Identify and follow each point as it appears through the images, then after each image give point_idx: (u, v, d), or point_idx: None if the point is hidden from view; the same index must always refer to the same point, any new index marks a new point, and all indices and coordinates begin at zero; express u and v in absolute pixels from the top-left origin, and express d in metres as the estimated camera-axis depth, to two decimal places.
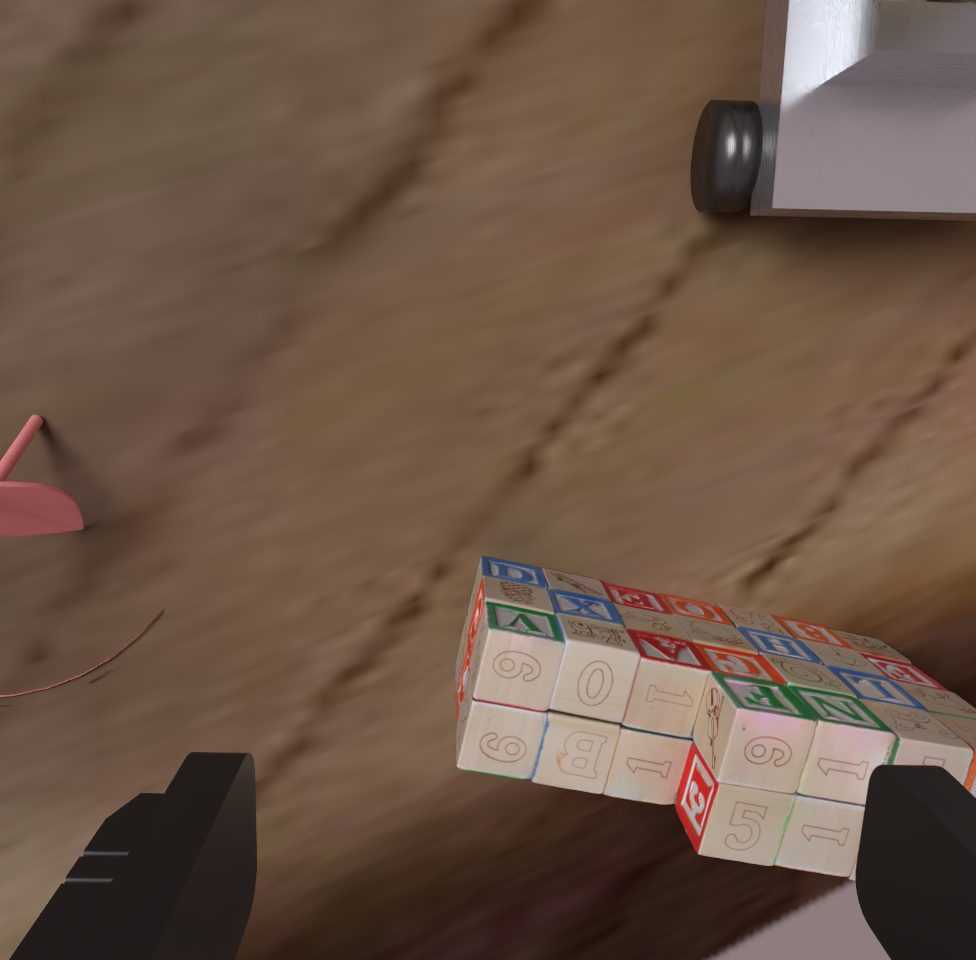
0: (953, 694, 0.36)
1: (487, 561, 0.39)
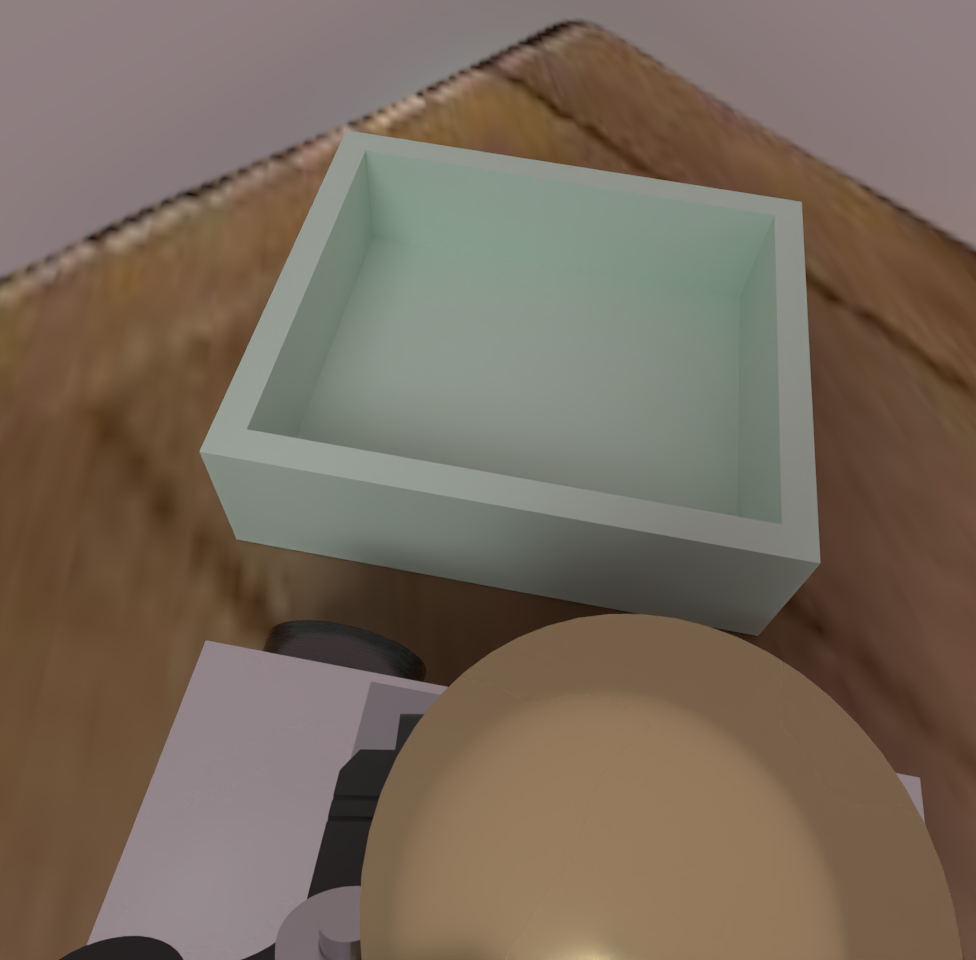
0: None
1: None
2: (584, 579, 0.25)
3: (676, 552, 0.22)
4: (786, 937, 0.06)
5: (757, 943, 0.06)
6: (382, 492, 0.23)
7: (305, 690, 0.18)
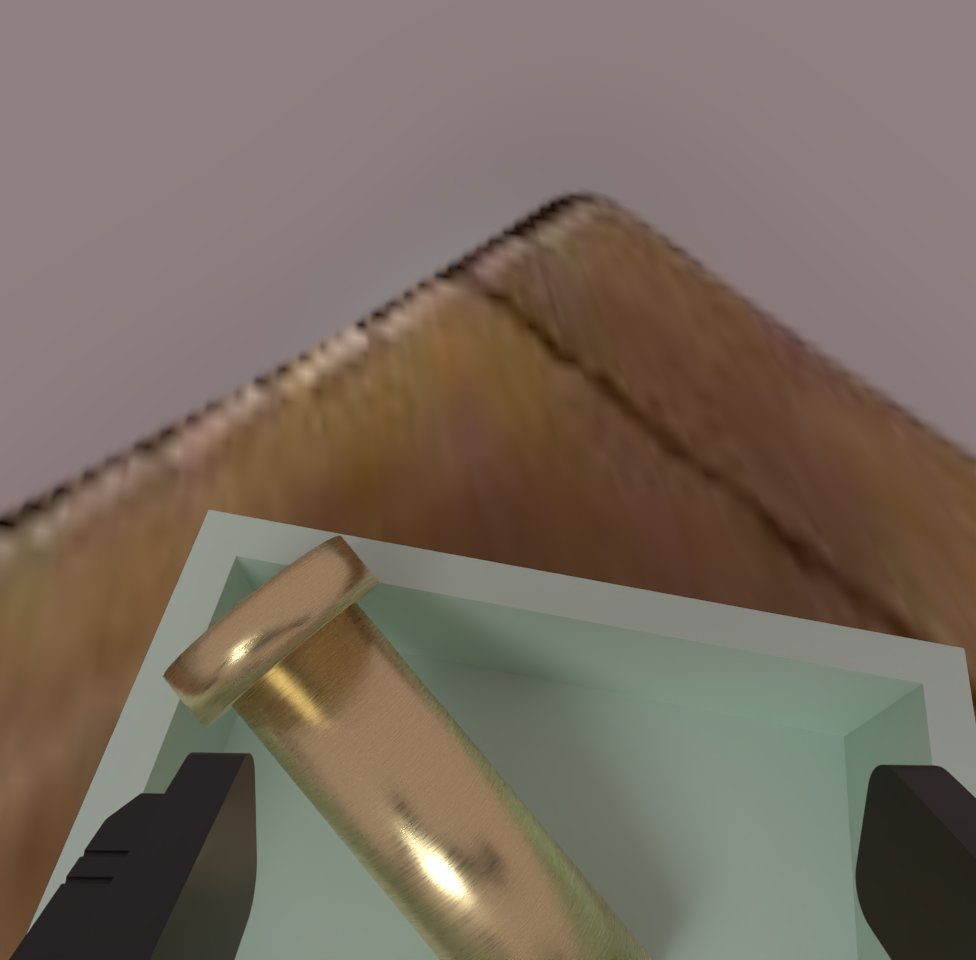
0: None
1: None
2: None
3: None
4: None
5: None
6: None
7: None
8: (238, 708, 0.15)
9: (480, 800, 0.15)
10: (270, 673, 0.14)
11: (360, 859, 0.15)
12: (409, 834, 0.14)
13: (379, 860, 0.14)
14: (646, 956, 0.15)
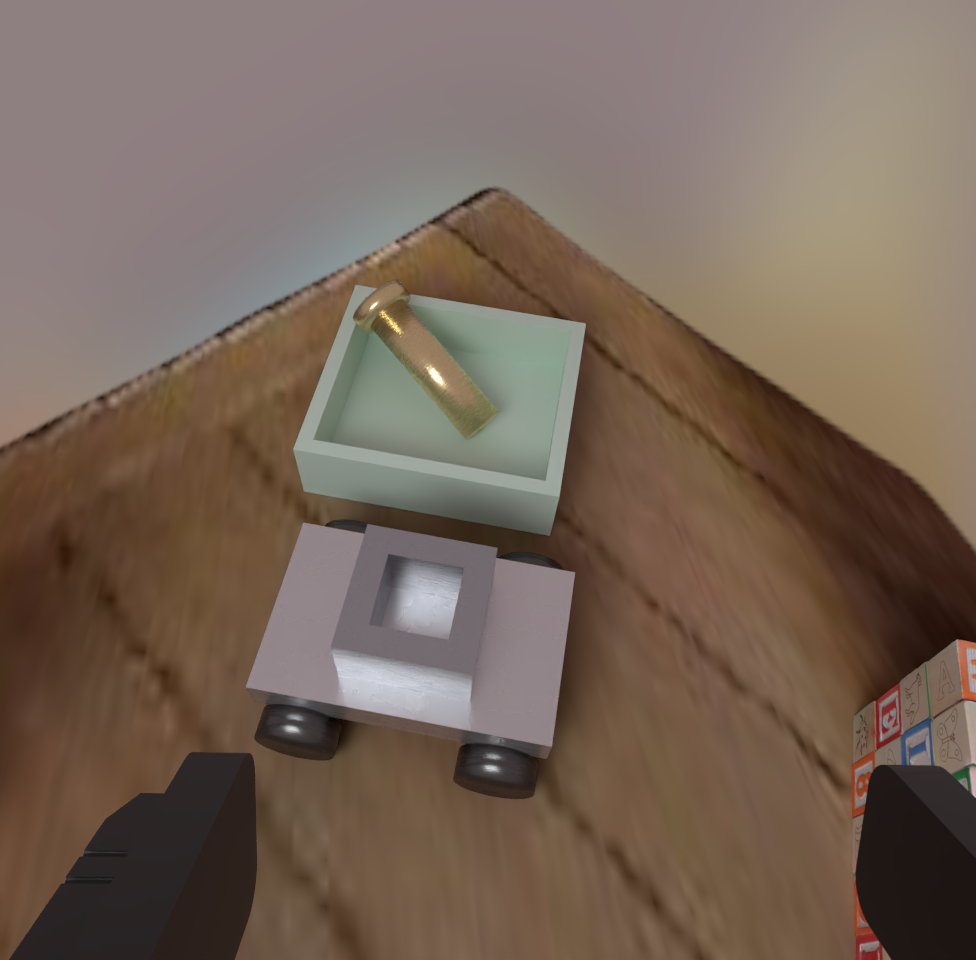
0: (902, 682, 0.44)
1: None
2: (466, 508, 0.54)
3: (500, 493, 0.52)
4: None
5: None
6: (373, 467, 0.52)
7: (342, 540, 0.47)
8: (373, 323, 0.56)
9: (438, 346, 0.56)
10: (383, 310, 0.56)
11: (406, 362, 0.56)
12: (419, 350, 0.55)
13: (411, 359, 0.56)
14: (483, 394, 0.57)
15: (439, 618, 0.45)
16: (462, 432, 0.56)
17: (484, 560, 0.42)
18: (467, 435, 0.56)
